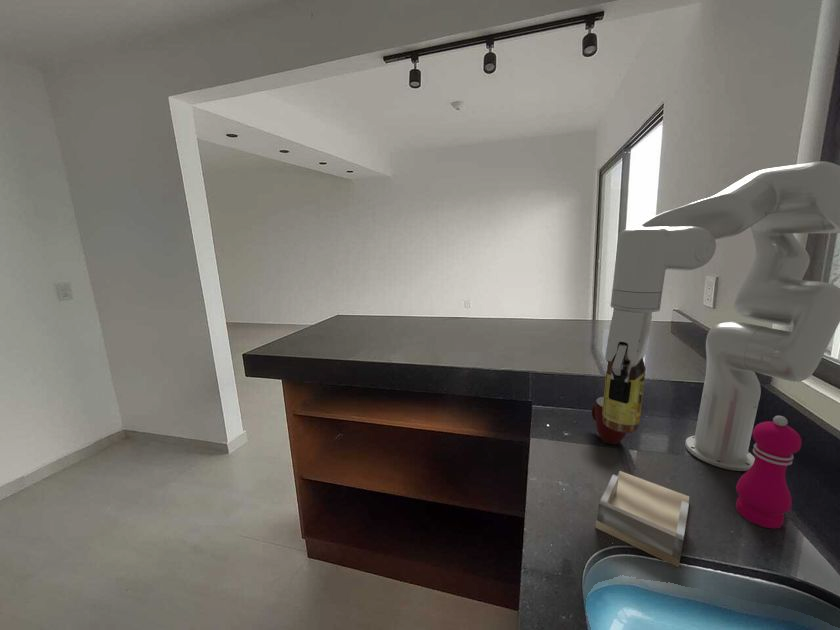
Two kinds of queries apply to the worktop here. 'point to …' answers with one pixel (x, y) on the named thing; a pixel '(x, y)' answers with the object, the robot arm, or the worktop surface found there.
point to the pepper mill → (768, 474)
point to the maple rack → (644, 516)
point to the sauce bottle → (624, 414)
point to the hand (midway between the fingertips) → (623, 393)
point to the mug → (604, 431)
